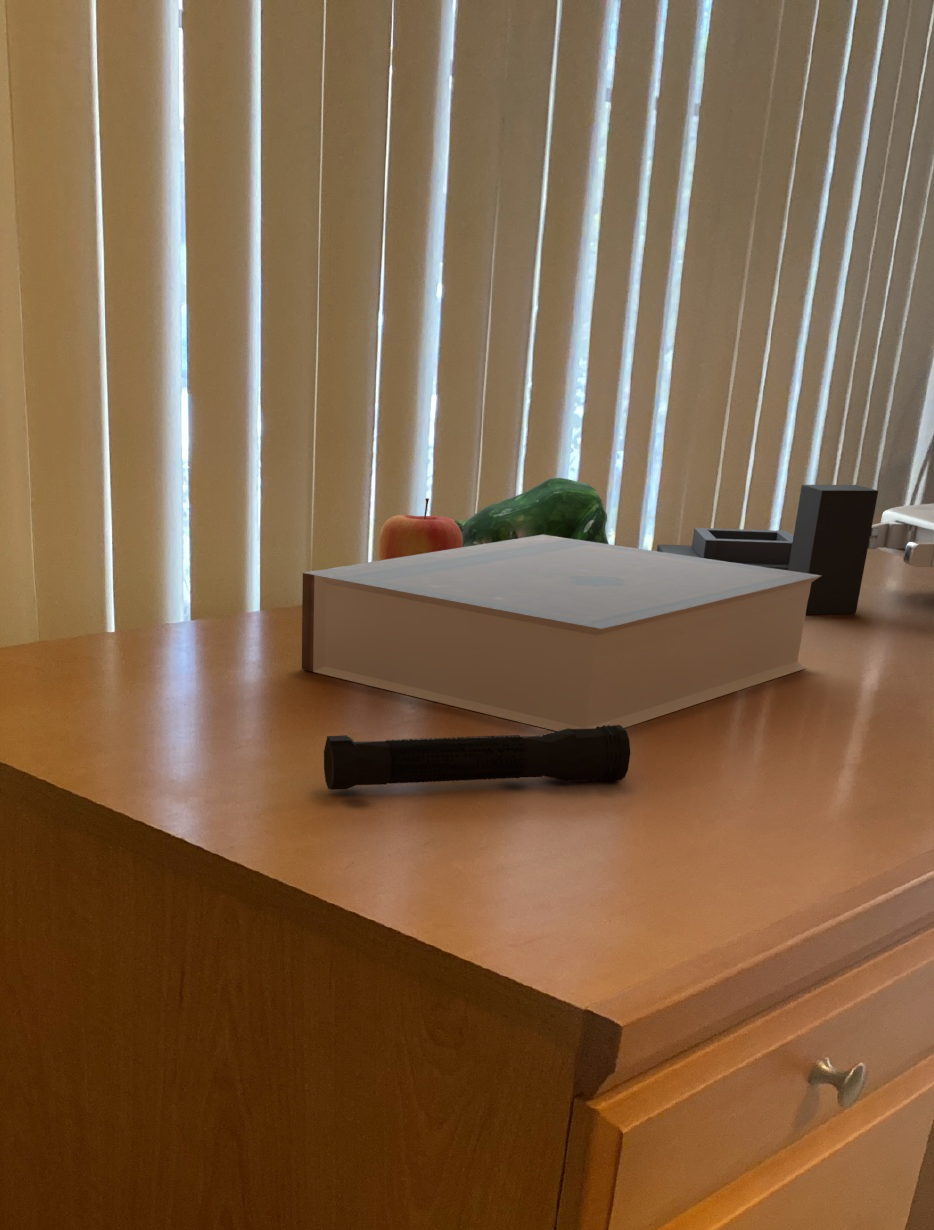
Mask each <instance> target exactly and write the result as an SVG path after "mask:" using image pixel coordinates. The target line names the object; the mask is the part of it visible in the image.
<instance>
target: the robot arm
mask: <svg viewBox="0 0 934 1230" xmlns="http://www.w3.org/2000/svg"><path fill="white" fill-rule="evenodd" d="M876 549H878V550H879V551H882V552H885V553H889V554H891V555H895V556H898V557H899V558H900V557H901V558H903V559H902V560H903V562H904V564H906V565H909V566H911V567H916V568H934V502H933V503H923V504H922V503H921V504H911V505H900V506H895V507H891V508H888V509H886V510H884V511H883V513H882V515H881V519H880V522H879V523H875V524H872V528H871V534H870V539H869V545H868V550H876Z"/></svg>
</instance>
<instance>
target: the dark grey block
mask: <svg viewBox="0 0 934 1230" xmlns="http://www.w3.org/2000/svg"><path fill="white" fill-rule="evenodd" d="M878 494H879V490H877V489H873V488H869V487H865V486H862V485H859V484H801V487H800V493H799V500H798V506H797V511H796V518H795V525H794V530H793V542H792V548H791V555H790V561H789V567H788V571H794V572H801V573H808V574H815V575H822V576H821V577H819V578H817V579H816V580H814V581H813V582H811V588H810V594H809V598H808V602H807V608H806V614H805V615H856V614H857V609H858V605H859V600H860V599H859V598H860V594H861V593H860V592H861V588H862V581H863V578H864V571H865V565H866V561H867V556H868V550H869V549H868V545H869V539H870V534H871V528H872V525H873V522H874V517H875V512H876V506H877V500H878Z"/></svg>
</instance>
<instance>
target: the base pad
mask: <svg viewBox="0 0 934 1230" xmlns="http://www.w3.org/2000/svg"><path fill="white" fill-rule="evenodd" d="M793 536H794V534H791V532H789V531H787V530H768V529H767V530H766V529H742V528H741V529H740V528H738V529H736V528H714V527H713V528H711V527H710V528H709V527H707V528H706V527H694V528H693V536H692V542H691V545H688V544H687V545H686V544H685V545H684V544H660V543H659V544H657V545H656V551H658V552H665V553H671V554H678V555H685V556H692V557H699V558H706V559H712V560H719V561H726V562H733V563H740V564H747V565H753V566H760V567H767V568H774V569H781V570H788V567H789V561H790V555H791V548H792V542H793Z"/></svg>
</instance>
